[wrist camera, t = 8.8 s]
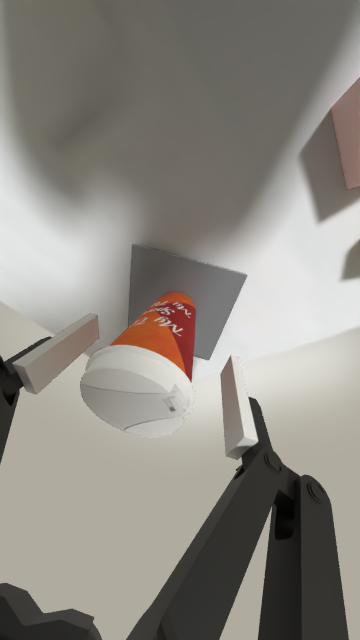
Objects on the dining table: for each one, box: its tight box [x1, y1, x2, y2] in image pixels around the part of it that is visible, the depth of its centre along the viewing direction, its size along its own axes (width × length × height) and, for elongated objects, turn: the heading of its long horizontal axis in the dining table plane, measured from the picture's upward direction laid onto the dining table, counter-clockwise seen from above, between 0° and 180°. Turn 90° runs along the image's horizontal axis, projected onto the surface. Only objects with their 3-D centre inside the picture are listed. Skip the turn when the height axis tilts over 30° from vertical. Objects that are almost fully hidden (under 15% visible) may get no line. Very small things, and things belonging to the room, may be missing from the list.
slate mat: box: [128, 244, 247, 360], centre depth 22 cm, size 14×14×1 cm
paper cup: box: [80, 292, 196, 437], centre depth 15 cm, size 8×8×14 cm
